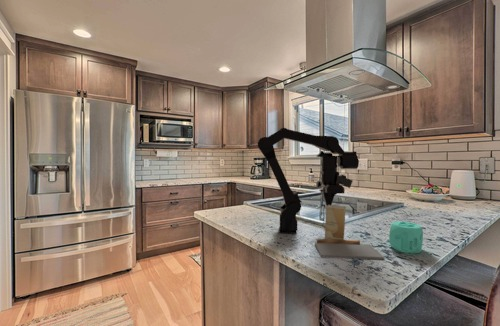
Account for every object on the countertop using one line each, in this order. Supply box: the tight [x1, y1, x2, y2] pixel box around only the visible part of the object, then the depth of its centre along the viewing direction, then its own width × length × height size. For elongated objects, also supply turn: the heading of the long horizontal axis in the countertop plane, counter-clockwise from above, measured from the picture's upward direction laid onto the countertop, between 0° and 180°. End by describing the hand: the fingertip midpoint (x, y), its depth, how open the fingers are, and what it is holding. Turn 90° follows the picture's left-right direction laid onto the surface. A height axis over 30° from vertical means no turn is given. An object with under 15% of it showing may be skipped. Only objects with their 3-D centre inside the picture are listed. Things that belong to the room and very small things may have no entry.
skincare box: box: [324, 204, 346, 240], centre depth 85 cm, size 6×4×12 cm
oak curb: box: [316, 238, 361, 244], centre depth 81 cm, size 14×1×2 cm, turn 86°
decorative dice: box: [388, 221, 424, 255], centre depth 78 cm, size 8×8×8 cm
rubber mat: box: [314, 242, 385, 260], centre depth 75 cm, size 18×10×1 cm, turn 86°
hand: (328, 208), depth 94 cm, fingers closed
